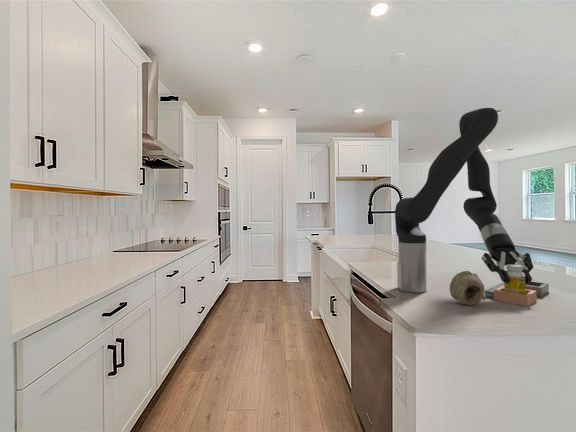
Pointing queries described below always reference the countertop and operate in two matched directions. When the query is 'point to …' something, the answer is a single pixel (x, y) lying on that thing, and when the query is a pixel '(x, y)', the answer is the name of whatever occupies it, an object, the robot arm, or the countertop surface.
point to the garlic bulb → (467, 288)
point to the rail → (535, 286)
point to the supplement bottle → (515, 279)
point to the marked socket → (515, 296)
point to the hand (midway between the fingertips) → (518, 282)
